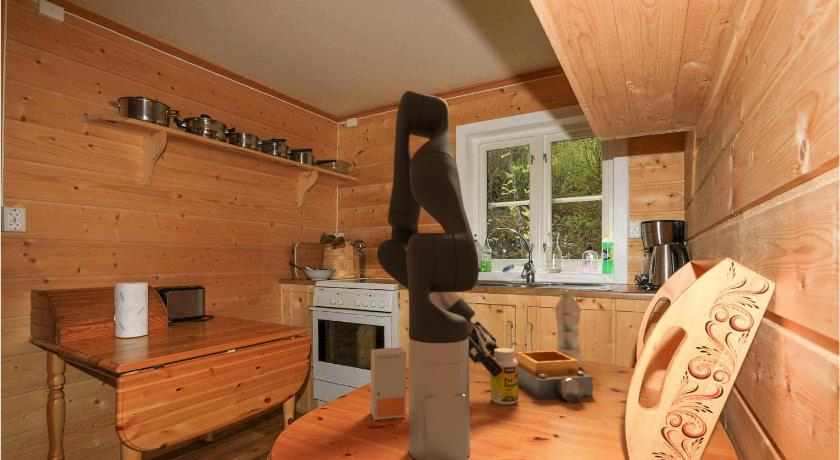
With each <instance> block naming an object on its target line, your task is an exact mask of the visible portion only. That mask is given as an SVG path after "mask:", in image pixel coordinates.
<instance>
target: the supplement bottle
mask: <svg viewBox="0 0 840 460" xmlns="http://www.w3.org/2000/svg"><path fill="white" fill-rule="evenodd" d="M494 357H495V358H493V357H492V358H493V359H494V360H495V361H496V362H497V363H498V364H499V365H500V366H501V368H502V372H501V373H500V374H499V375H498V376H497V377H494V376H493V375H492V374H491V373H490V372H489V373H490V374H489V375H490V376H489V377H490V399H491V401H492V402H493V403H495V404H498V405H505V406H510V405H513V404H516V403H517V402H518V401H519V385H518V361H517V360H516V359H514V358H515V350H514V349H511V348H510V347H509V348H507V347H499V348H497V349H495V350H494Z"/></svg>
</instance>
